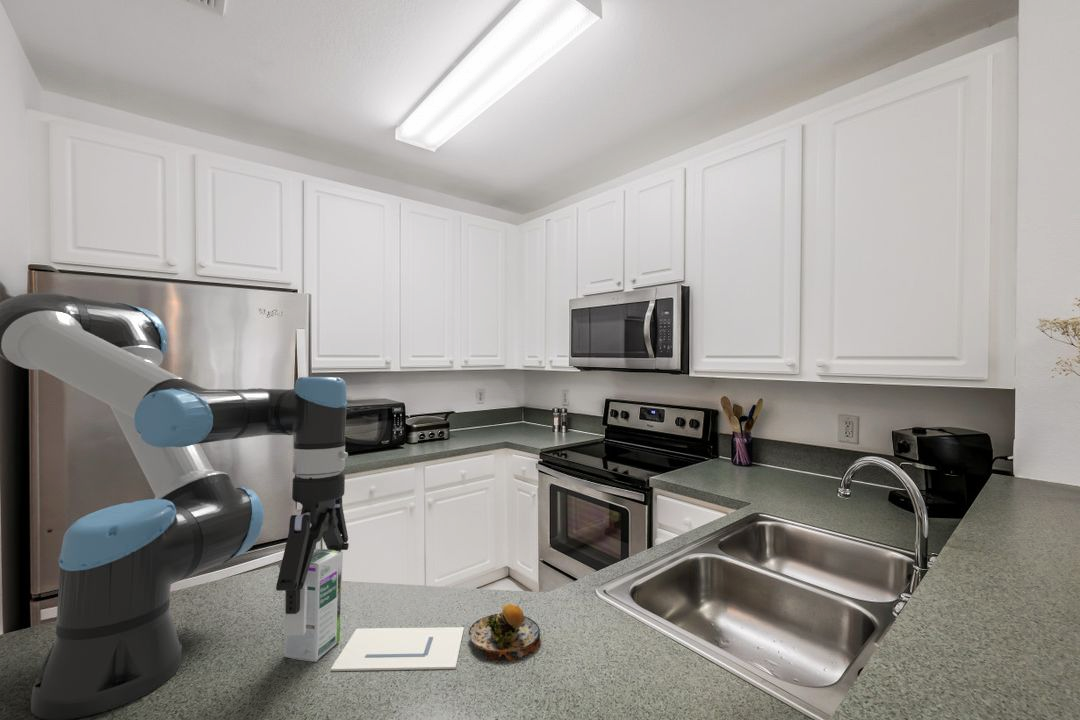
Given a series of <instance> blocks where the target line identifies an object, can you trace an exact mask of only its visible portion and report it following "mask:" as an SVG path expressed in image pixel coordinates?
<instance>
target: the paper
mask: <svg viewBox="0 0 1080 720" xmlns="http://www.w3.org/2000/svg"><path fill="white" fill-rule="evenodd" d="M464 630H465V627H464V626H463V627H462V626H461V627H459V626H456V627H446V626H445V627H379V628H378V627H376V628H374V627H372V628H368V627H367V628H364V627H362V628H356V629H355V631H354V632H353V634H352V635H351V637H350V638H349V639H348V641H347V642H346V645H344V648H343V649H342V651H341V652H340V654H339V655H338V656H337V658H336V660H335V662H333V665H332V666H331V667H330V672H342V671H343V672H344V671H345V672H348V671H349V672H353V671H354V672H355V671H358V672H359V671H360V672H361V671H404V670H405V671H407V670H408V671H409V670H410V671H412V670H415V671H416V670H417V671H419V670H456V668H457V665H458V664H457V663H458V659H459V656H460V655H459V654H460V649H461V645H462V641H463V635H464Z"/></svg>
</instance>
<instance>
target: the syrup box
mask: <svg viewBox="0 0 1080 720" xmlns="http://www.w3.org/2000/svg"><path fill="white" fill-rule="evenodd" d="M306 585H307V610H306V632H305V634H304V635H284V646H283V647H284V648H283V650H284V651H283V654H284V657H285V658H288V659H289V658H290V659H293V660H300V661H307V662H314V663H316V662H317V661H319V660H320V658H322V656H324V655H325V654H327V652H328V651H330V650H331V649H332V648H333V647H335V646H336V645H337V644H338V643H339V642H340V641H341V599H342V598H341V595H342V593H341V591H342V590H341V552H340V551H335V550H328V549H327V548H326V549H324V548H315V549H314V553H313V556H312V559H311V563H310V566H309V569H308V573H307V576H306V579H305V583H304V586H306Z"/></svg>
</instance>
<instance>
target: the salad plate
mask: <svg viewBox="0 0 1080 720" xmlns="http://www.w3.org/2000/svg"><path fill="white" fill-rule="evenodd" d="M522 598H523V596H521V597H520V600H519V602H518V605H517V604H514V603H506V604H503V606H502V608H501V609H502V610H501V611H502V612H499V613H495V614H490V615H488V616H485V617H482V618H480V619H478V620H476V621H475V622H473V624H472V625H471V626H470V628H469V630H468V635H469V638H470V641H471V643H472V644H473V645H474V647H475V648H477V649H480V650H482V651H483V652H484V655H485V660H486V661H487V660H489V661H490V662H495V661H500V657H502V655H504V656H505V658H506V659H507V660H508V661H511V662H515V661H517V659H518V660H521V659H522V658H523V656H527V655H528V653H535V651H537V649H538V647H539V646H540V645H541V633H540V632H541V628H540V626H539V625H538V623H537V622H536V621H534V620H533V619H531V617H528V616H526V615H525V613H524V612H523V610H522V609H521V607H520V606H519V604H520V602H521V601H522Z"/></svg>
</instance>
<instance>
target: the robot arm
mask: <svg viewBox="0 0 1080 720" xmlns="http://www.w3.org/2000/svg"><path fill="white" fill-rule="evenodd" d="M165 339H166V340H167V339H168V332H167V330H166V327H165V325H164V323H163V321H162V319H160V318H159V317H158V316H157V315H156V314H155V313H154V312H152V311H150V310H149V309H146V308H143V307H138V306H134V305H133V304H129V303H124V302H108V301H102V300H97V299H90V298H85V297H77V296H71V295H64V294H62V293H61V294H59V293H56V292H31V293H30V292H29V293H22V294H19V295H16V296H12V297H9V298H7V299H5V300H3V301H1V302H0V357H1V358H3V359H4V360H6V361H8V362H10V363H12V364H13V365H15V366H18V367H21V368H22V369H27V370H32V371H33V370H34V371H40V370H41V371H43V372H45V373H47V374H49V375H51V376H53V377H55V378H57V379H59V380H60V381H62V382H64V383H67V384H69V386H72V387H74V388H76V389H78V390H79V391H80V392H81V391H82V392H84V393H85V394H87V395H89V396H91V397H93V398H95V399H97V400H98V401H101V402H102V403H104V404H106V405H109V407H110V409H111V411H112V413H113V415H114V417H115V419H116V421H117V422H118V423H117V424H118V425H119V428H121V431H122V433H123V435H124V436H125V438H126V441H127V442H128V444H129V447H130V448H131V451H132V452H133V455H134V456H135V459H136V460H137V463H138V465H139V467H140V468H141V470H142V472H143V474H144V476H145V478H146V480H147V482H148V484H149V486H150V488H151V490H152V493H153V494H154V498H153V499H152V498H151V499H141V500H135V501H132V502H124V503H120V504H119V503H118V504H115V505H111V506H109V507H106V508H102V509H99V510H97V511H94V512H91V513H88V514H87V515H85V516H82V517H81V518H79V519H77V520H76V521H74V522H73V523H72V524H71V525H70V526H69V527H68V529H67V530H66V531H65V532H64V534H63V540H62V544H61V548H60V554H59V556H58V567H59V577H58V590H57V591H58V593H57V594H58V595H57V606H56V607H57V611H56V625H55V626H56V627H55V636H54V640H53V643H52V645H51V648H50V649H49V651H48V654H47V656H46V658H45V661H44V662H43V665H42V667H41V670H40V672H39V673H38V674H39V675H38V676H37V678H36V680H35V682H34V684H33V687H32V689H31V697H30V712H31V714H33V716H36V717H37V718H39V719H40V718H41V719H44V720H73V719H78V718H83V717H84V718H85V717H88V716H89V717H90V716H92V715H96V714H97V715H98V714H100V713H103V712H107V711H109V710H110V711H111V710H112V709H116V708H118V707H121V706H123V705H126V704H127V703H132V702H134V701H135V700H137V699H139V698H141V697H143V696H145V695H147V694H149V693H150V692H152V691H154V690H155V689H157V688H158V687H160V686H162V685H163V684H165V683H166V682H168V680H170V679H171V678H172V677H173V676H174V675H175V674H176V672H178V670H179V668H180V666H181V664H182V653H183V646H182V641H181V640H180V638H179V637H178V633H177V630H176V629H177V628H176V627H175V624H174V620H173V618H172V616H171V613H170V599H171V588H172V586H171V585H173V584H175V583H178V582H179V581H182V580H184V579H187V578H190V577H192V576H194V575H196V574H198V573H200V572H201V573H202V572H204V571H206V570H208V569H211V568H213V567H215V566H218V565H221V564H222V565H223V564H226V563H228V562H230V561H232V560H233V559H234V558H236V557H238V556H240V555H242V554H244V553H246V552H247V551H249V550H250V549H251V548H252V547H253V546H254V545H255V543H257V541H258V539H259V538H260V535H261V533H262V526H263V524H264V521H265V519H264V518H265V512H264V507H263V504H262V500H261V498H260V497H259V495H258V494H257V493H256V491H254V490H253V489H249V488H247V487H242V486H238V487H235V485H234V483H233V481H232V479H231V478H230V476H229V474H228V473H227V472H224V471H220V470H219V471H218V470H215V469H214V468H213V467H212V465H211V463H210V461H209V459H208V457H207V455H206V454H205V451H204V449H203V448H202V444H205V443H206V444H207V443H214V442H220V441H229V440H237V439H238V440H239V439H246V438H253V437H260V436H261V437H262V436H271V435H272V436H293V448H292V449H293V451H292V452H293V455H292V473H293V474H295V476H294V477H293V478H292V487H291V488H292V492H291V499H292V500H293V502H295V503H299V504H300V505H301V512H300V514H292V515H291V516H290V518H289V525H288V526H289V527H288V534H287V538H286V543H285V547H284V551H283V556H282V559H281V564H280V569H279V572H278V577H277V582H276V586H275V589H276V591H277V592H280V591H285V592H284V614H283V615H284V616H283V617H284V619H283V621H284V622H283V624H284V625H283V636H285V635H304V634H305V632H306V610H307V585H306V586H304V583H305V579H306V576H307V573H308V569H309V566H310V563H311V559H312V556H313V553H314V549H316V546H317V543H319V542H320V541H321V540H323V542H324V544H325V546H326V549H328V550H335V551H340V552H341V591H343V589H342V588H343V587H342V585H343V551H348V549H349V545H350V544H349V542H348V541H349V536H348V531H347V530H348V529H347V524H346V518H345V514H344V513H345V512H344V507H343V496H344V495H345V484H346V483H345V482H346V481H345V480H346V475H345V474H344V472H343V471H344V470H345V467H346V464H345V463H346V462H345V461H346V459H347V458H349V453H348V452H346V425H347V424H346V423H347V422H346V421H347V409H348V401H347V382H346V381H345V379H343V378H342V377H335V376H300V377H298V378H297V379H296V380H295V386H294V388H293V389H279V388H261V387H258V388H248V389H247V388H246V389H243V388H241V389H237V388H236V389H232V388H231V389H228V388H227V389H226V388H225V389H222V388H221V389H220V388H219V389H217V388H216V389H215V388H214V389H211V388H210V389H209V388H204V387H202V386H199V385H197V384H194V383H193V382H190V381H188V380H186V379H184V378H183V377H181V376H178V375H177V374H174V373H172V372H170V371H168V370H166V369H164V368H162V367H160V365H161V364H162V362H163V360H164V355H165V353H166V351H167V348H168V342H166V340H165ZM200 444H201V445H200Z"/></svg>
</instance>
